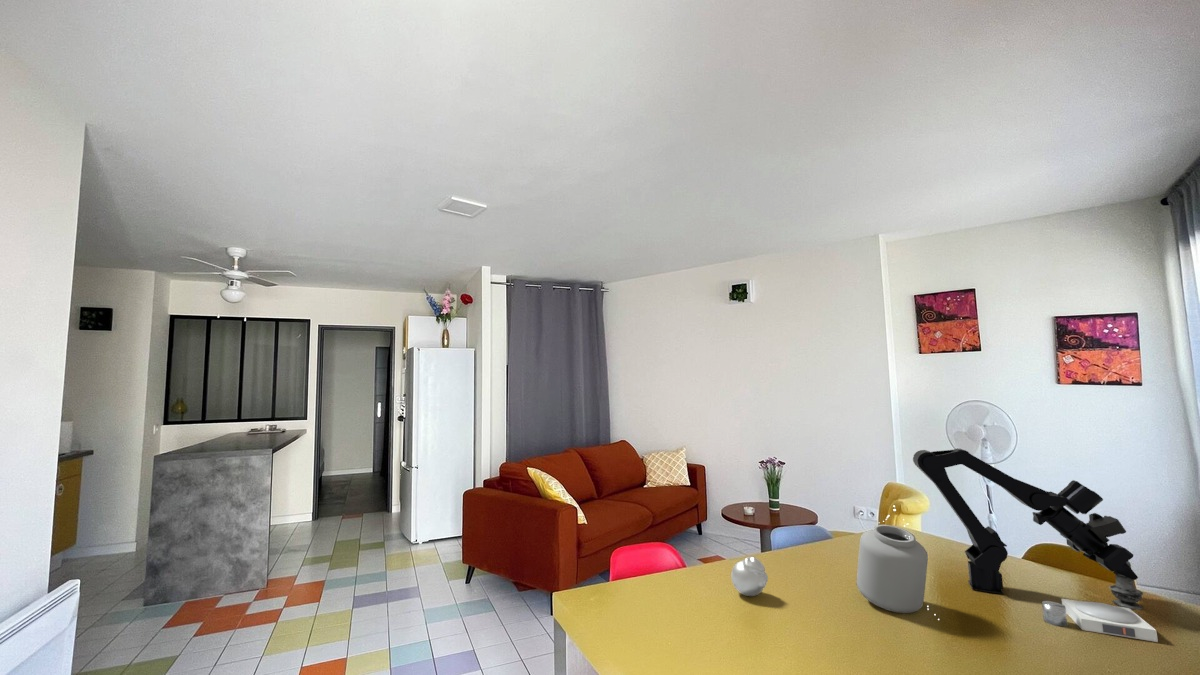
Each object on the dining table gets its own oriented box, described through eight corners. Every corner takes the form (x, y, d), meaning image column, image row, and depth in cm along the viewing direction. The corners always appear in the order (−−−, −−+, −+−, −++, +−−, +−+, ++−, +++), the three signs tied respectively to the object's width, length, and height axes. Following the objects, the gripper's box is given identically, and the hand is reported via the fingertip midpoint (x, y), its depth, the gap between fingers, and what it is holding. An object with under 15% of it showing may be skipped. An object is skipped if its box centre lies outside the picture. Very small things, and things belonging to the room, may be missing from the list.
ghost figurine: (748, 605, 123) (747, 564, 125) (725, 591, 132) (723, 553, 133) (776, 599, 127) (774, 559, 128) (751, 586, 136) (749, 548, 137)
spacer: (1047, 624, 112) (1045, 606, 112) (1041, 617, 115) (1039, 599, 116) (1070, 628, 110) (1068, 609, 111) (1063, 620, 114) (1061, 602, 114)
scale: (1083, 631, 109) (1081, 616, 109) (1062, 608, 120) (1061, 596, 120) (1159, 643, 103) (1157, 628, 103) (1130, 618, 114) (1128, 605, 114)
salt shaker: (1152, 611, 118) (1145, 559, 119) (1123, 609, 119) (1117, 558, 121) (1131, 600, 124) (1125, 551, 125) (1104, 599, 125) (1098, 550, 126)
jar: (955, 621, 114) (945, 511, 117) (900, 627, 111) (892, 514, 114) (893, 589, 132) (886, 495, 135) (845, 594, 129) (838, 497, 132)
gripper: (1116, 513, 117) (1186, 567, 112) (1076, 498, 134) (1134, 543, 129) (1078, 544, 119) (1145, 598, 114) (1043, 525, 136) (1099, 571, 131)
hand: (1131, 575), depth 122 cm, fingers closed on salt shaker, 4 cm apart
